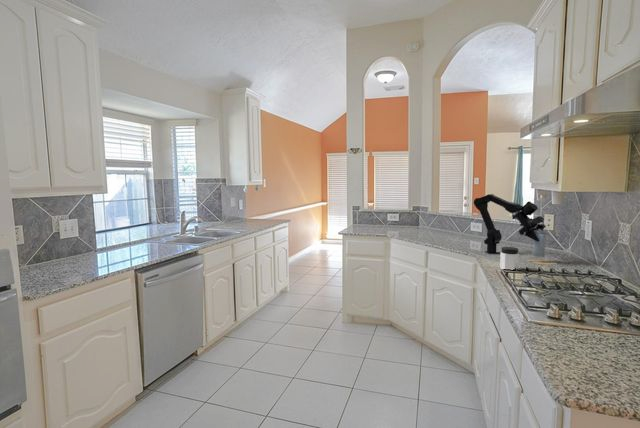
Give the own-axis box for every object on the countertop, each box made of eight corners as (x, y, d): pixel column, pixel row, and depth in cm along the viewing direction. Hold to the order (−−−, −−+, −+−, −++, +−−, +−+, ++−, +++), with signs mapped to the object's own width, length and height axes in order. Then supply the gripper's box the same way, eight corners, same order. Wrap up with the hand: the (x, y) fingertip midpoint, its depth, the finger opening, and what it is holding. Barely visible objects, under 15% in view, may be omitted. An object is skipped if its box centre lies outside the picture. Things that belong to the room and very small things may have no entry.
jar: (512, 272, 189) (513, 250, 188) (497, 269, 196) (498, 248, 195) (520, 269, 194) (521, 248, 193) (506, 266, 201) (506, 246, 199)
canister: (530, 254, 212) (532, 228, 210) (540, 254, 212) (542, 228, 210) (536, 256, 206) (538, 230, 204) (547, 256, 206) (549, 230, 204)
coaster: (525, 260, 213) (525, 259, 213) (544, 260, 214) (544, 259, 214) (538, 265, 201) (538, 264, 201) (558, 265, 202) (558, 264, 202)
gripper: (524, 212, 205) (542, 233, 197) (543, 210, 214) (561, 231, 205) (511, 224, 213) (528, 245, 204) (530, 222, 221) (547, 242, 213)
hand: (541, 240), depth 206 cm, fingers closed on canister, 6 cm apart
